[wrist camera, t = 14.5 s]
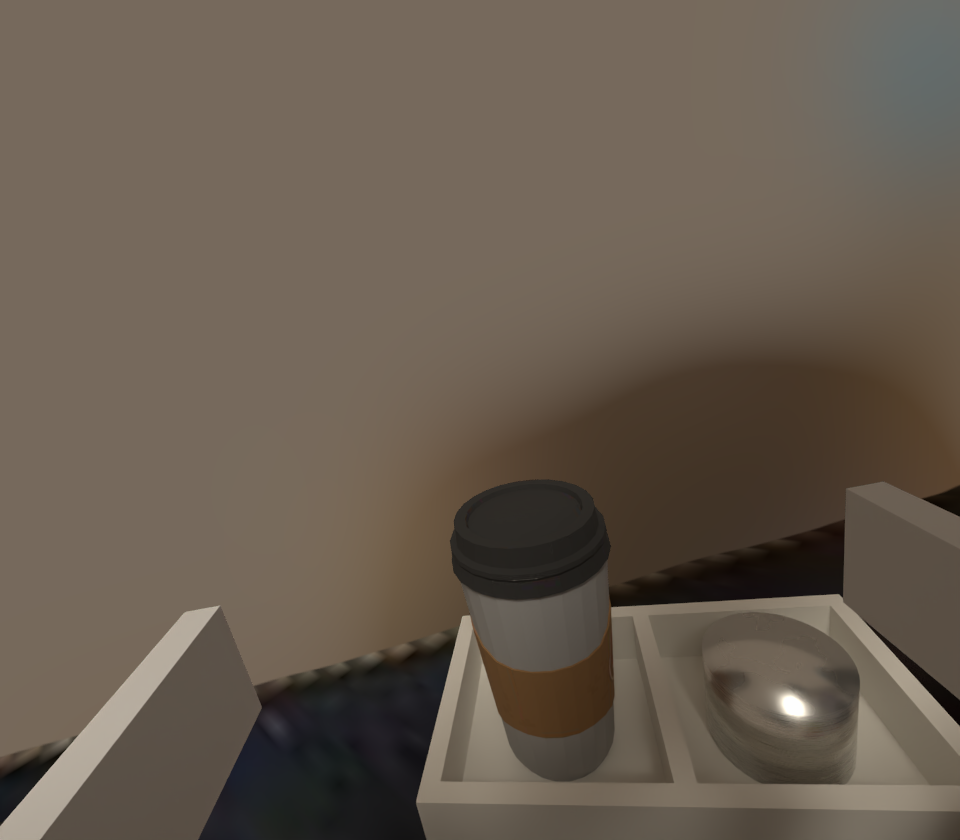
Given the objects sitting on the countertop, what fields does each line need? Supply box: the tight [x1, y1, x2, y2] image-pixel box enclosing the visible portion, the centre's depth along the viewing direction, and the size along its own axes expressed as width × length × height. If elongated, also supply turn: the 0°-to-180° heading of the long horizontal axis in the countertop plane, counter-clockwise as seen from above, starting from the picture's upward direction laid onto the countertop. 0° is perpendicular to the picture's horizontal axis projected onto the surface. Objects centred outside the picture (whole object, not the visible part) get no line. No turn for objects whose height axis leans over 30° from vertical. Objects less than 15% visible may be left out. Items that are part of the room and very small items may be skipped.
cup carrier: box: [416, 594, 960, 840], centre depth 27 cm, size 25×13×4 cm, turn 82°
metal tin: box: [702, 612, 860, 785], centre depth 26 cm, size 7×7×5 cm
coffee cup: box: [450, 480, 615, 781], centre depth 26 cm, size 8×8×15 cm
